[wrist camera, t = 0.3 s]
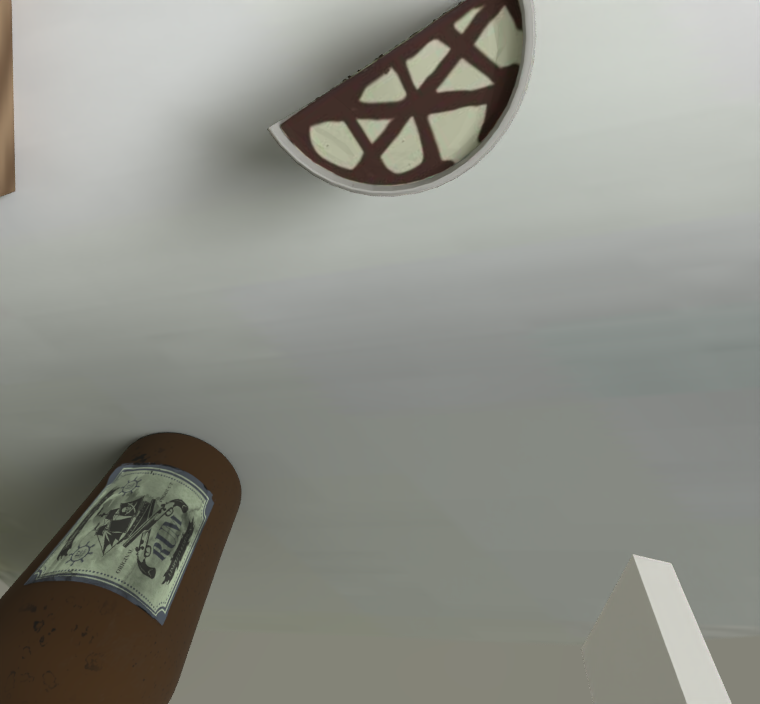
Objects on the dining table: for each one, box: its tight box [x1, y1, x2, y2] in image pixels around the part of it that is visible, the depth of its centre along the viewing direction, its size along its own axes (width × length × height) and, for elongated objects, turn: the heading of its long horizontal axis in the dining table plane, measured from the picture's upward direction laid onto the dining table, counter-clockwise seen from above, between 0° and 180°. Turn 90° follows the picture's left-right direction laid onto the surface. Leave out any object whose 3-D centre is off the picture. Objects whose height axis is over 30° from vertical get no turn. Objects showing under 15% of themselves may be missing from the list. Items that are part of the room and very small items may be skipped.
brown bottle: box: [0, 433, 241, 704], centre depth 38 cm, size 11×11×25 cm
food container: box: [267, 0, 536, 197], centre depth 31 cm, size 12×6×10 cm, turn 121°
